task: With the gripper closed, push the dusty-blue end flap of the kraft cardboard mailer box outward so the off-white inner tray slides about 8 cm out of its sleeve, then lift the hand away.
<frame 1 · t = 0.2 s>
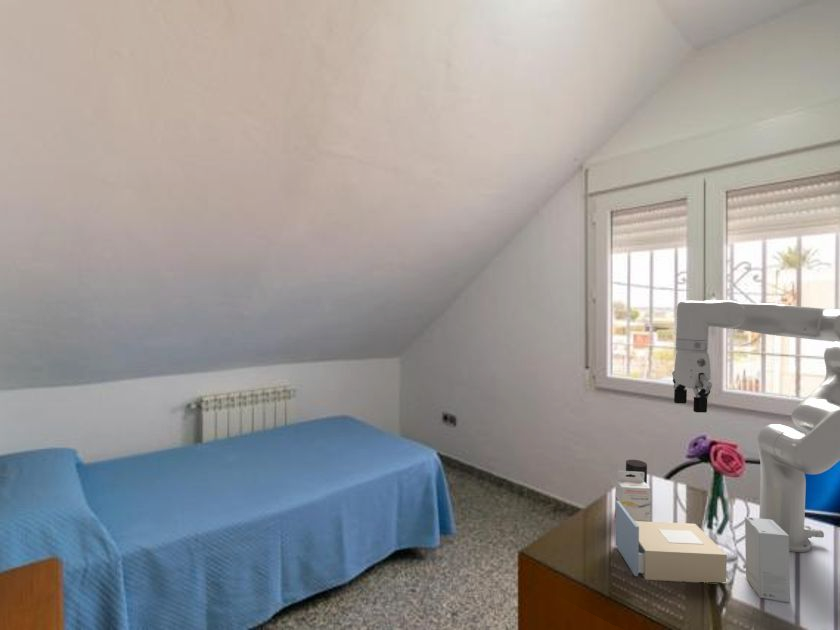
hand: (689, 407, 121), 36 cm above the table, tool pointing down, fingers open, 9 cm apart
skincare box: (765, 589, 100), on the table
ink cartridge box: (632, 523, 130), on the table
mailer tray: (661, 537, 110), point 6 cm above the table, slide at 1.5 cm
deodorant: (635, 510, 137), on the table
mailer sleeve: (671, 563, 110), on the table
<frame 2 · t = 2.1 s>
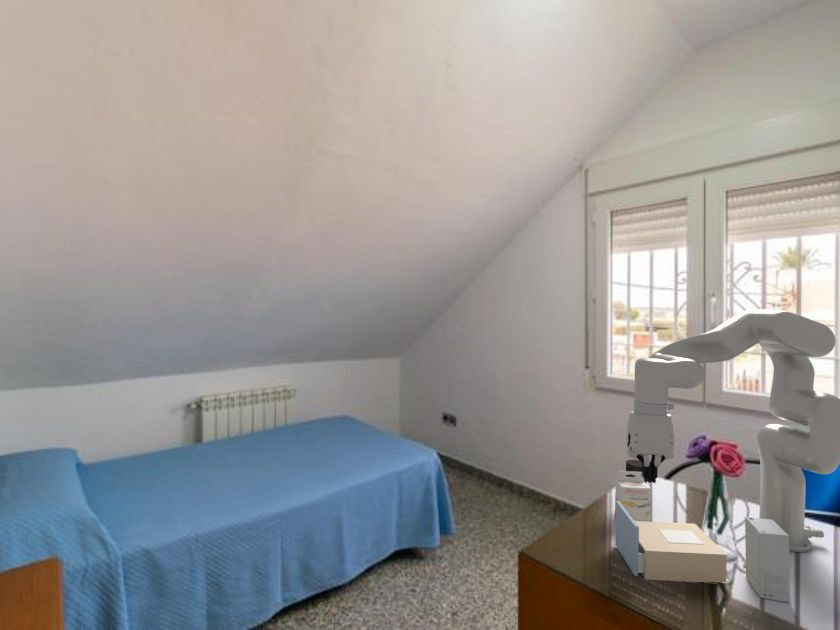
hand: (649, 480, 109), 21 cm above the table, tool pointing down, fingers closed
nothing on the table moved.
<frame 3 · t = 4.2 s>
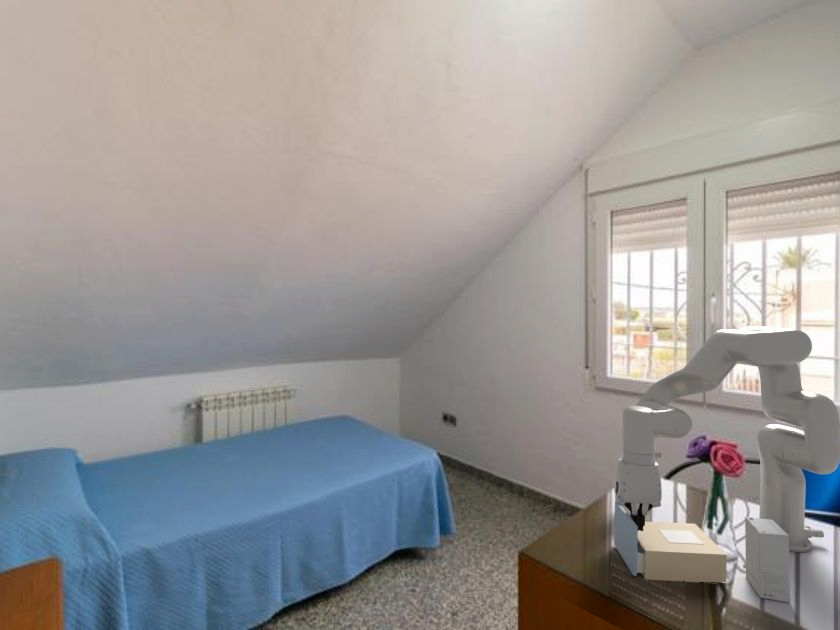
hand: (637, 528, 110), 9 cm above the table, tool pointing down, fingers closed
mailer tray: (660, 537, 110), point 6 cm above the table, slide at 1.8 cm, touching gripper
everything else where it was.
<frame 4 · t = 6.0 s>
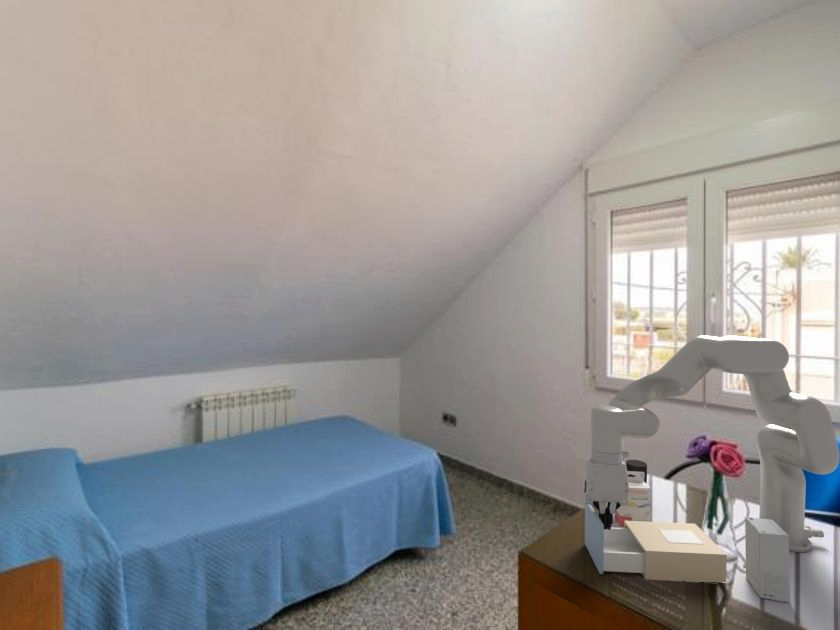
hand: (605, 526, 111), 9 cm above the table, tool pointing down, fingers closed
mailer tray: (627, 536, 110), point 6 cm above the table, slide at 9.6 cm, touching gripper
everything else where it was.
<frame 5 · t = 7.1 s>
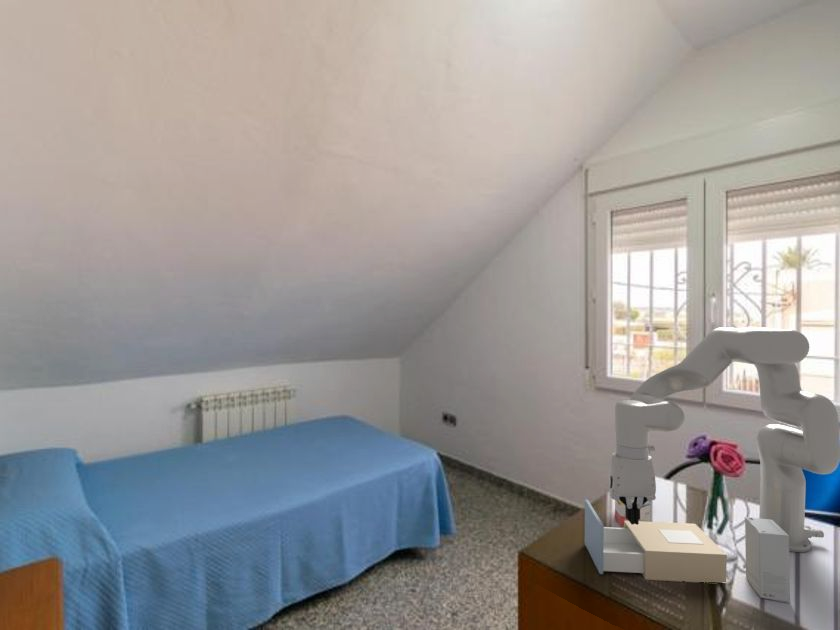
hand: (632, 521, 110), 10 cm above the table, tool pointing down, fingers closed
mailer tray: (627, 536, 110), point 6 cm above the table, slide at 9.6 cm
everything else where it was.
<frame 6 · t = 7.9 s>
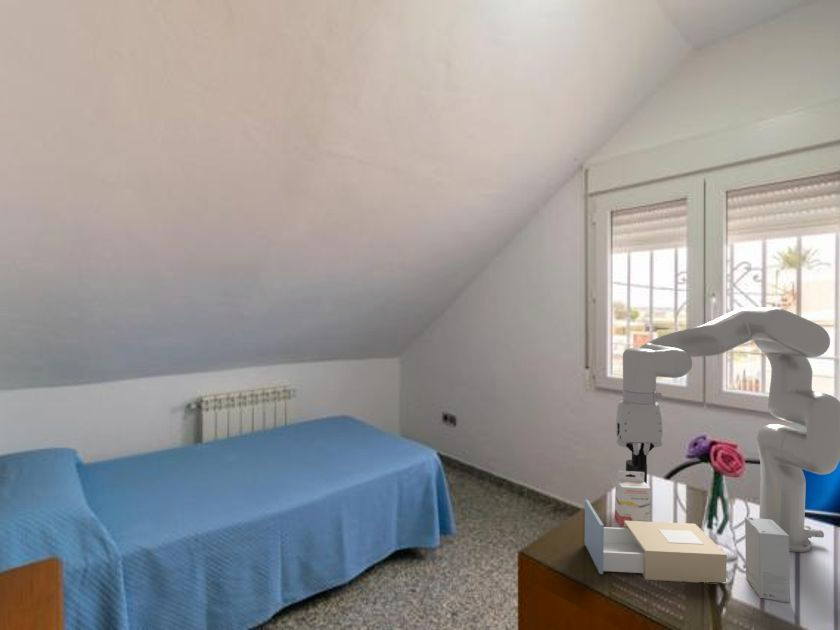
hand: (639, 468, 111), 23 cm above the table, tool pointing down, fingers closed
nothing on the table moved.
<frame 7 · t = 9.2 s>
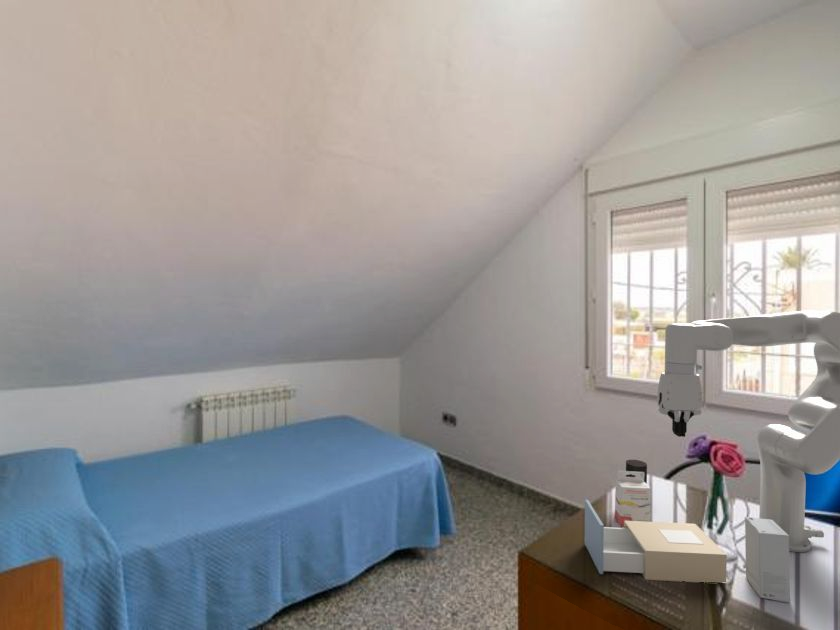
hand: (679, 435, 120), 29 cm above the table, tool pointing down, fingers closed
nothing on the table moved.
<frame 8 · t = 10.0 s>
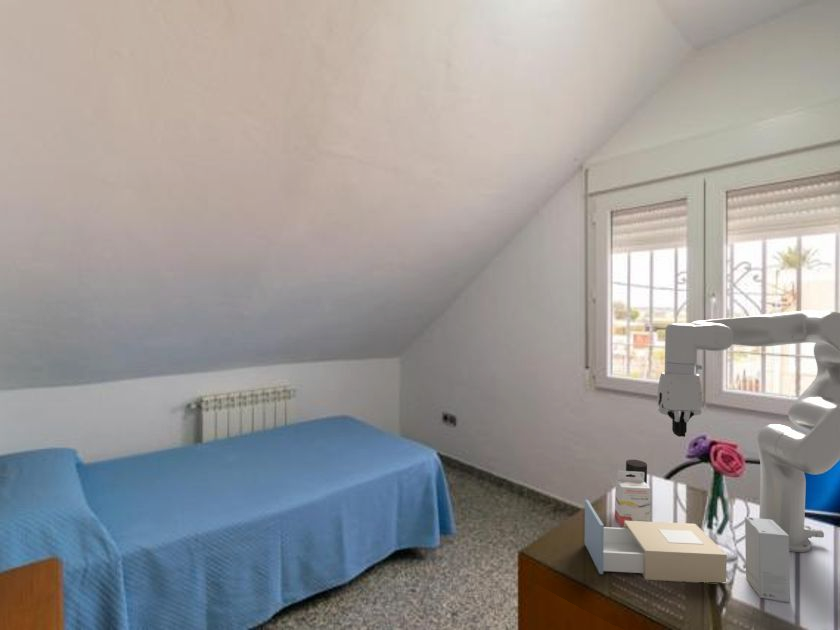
hand: (679, 435, 120), 29 cm above the table, tool pointing down, fingers closed
nothing on the table moved.
at the end: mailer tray slide at 9.6 cm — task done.
